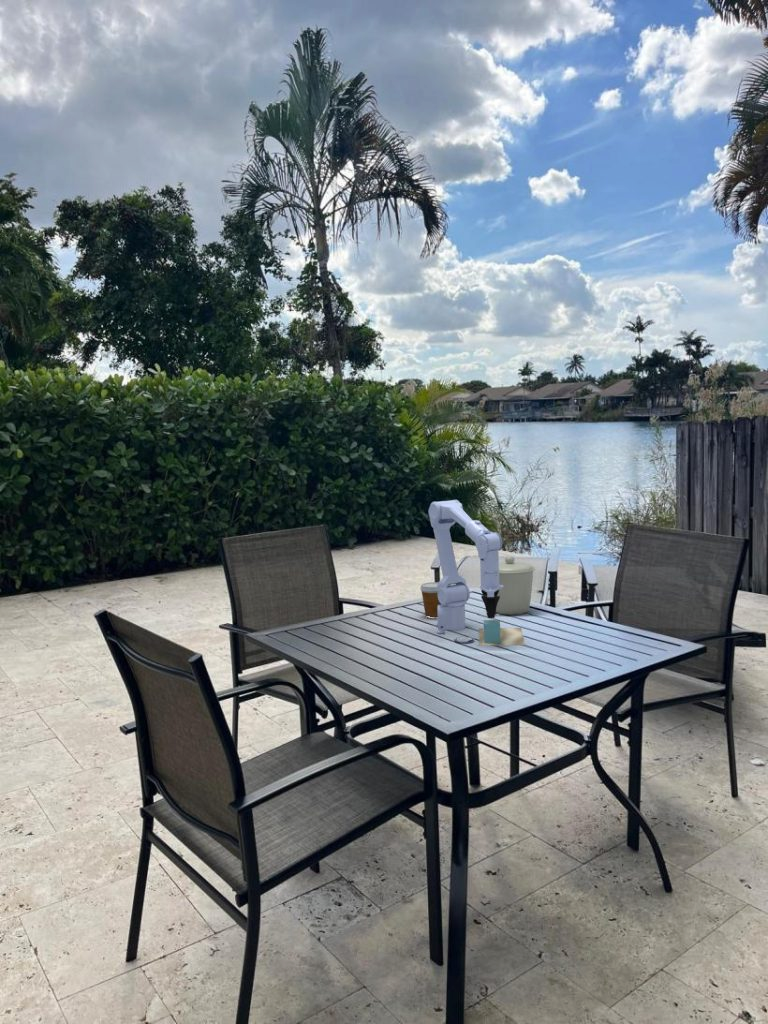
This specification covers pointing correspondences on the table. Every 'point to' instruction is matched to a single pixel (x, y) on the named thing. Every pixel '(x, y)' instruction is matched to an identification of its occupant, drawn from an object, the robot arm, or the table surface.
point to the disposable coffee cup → (430, 598)
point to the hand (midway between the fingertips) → (490, 614)
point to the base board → (505, 637)
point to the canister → (514, 586)
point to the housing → (492, 631)
